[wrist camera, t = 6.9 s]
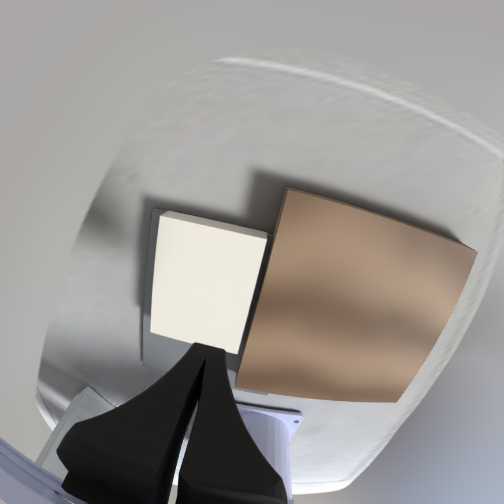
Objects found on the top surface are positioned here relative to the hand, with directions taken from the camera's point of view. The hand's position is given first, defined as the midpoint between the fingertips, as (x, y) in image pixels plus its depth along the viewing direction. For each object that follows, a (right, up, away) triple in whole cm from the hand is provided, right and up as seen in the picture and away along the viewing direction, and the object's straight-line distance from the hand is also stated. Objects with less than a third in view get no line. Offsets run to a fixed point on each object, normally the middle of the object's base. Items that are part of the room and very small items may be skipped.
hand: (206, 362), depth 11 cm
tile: (-1, +3, +7) cm, 7 cm away
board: (+9, 0, +7) cm, 12 cm away
